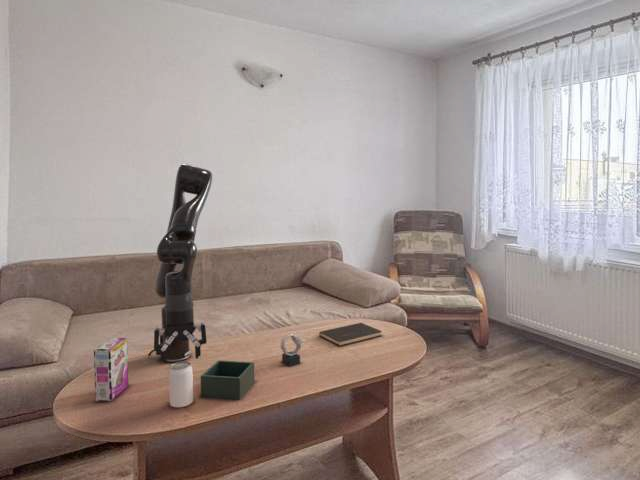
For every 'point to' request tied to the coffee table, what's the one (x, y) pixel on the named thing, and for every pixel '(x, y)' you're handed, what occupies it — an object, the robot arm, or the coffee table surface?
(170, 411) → the coffee table surface
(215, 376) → the bin
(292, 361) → the watch
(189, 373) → the can
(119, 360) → the candy bar box
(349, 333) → the hardcover book
